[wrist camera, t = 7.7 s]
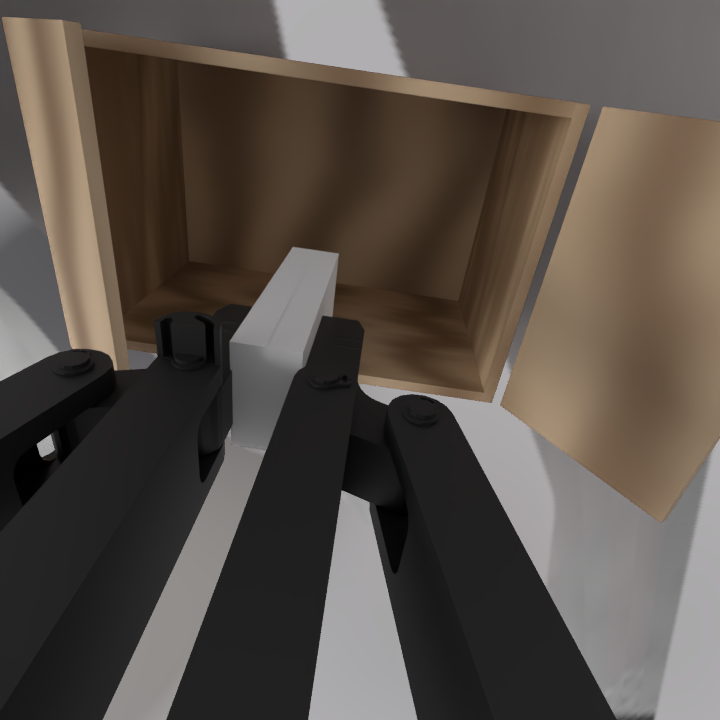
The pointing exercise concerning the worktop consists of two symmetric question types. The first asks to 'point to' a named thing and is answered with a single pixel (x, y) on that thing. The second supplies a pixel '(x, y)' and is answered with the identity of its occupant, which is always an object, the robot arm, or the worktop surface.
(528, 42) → the worktop surface
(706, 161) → the flap
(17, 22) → the flap
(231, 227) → the carton
